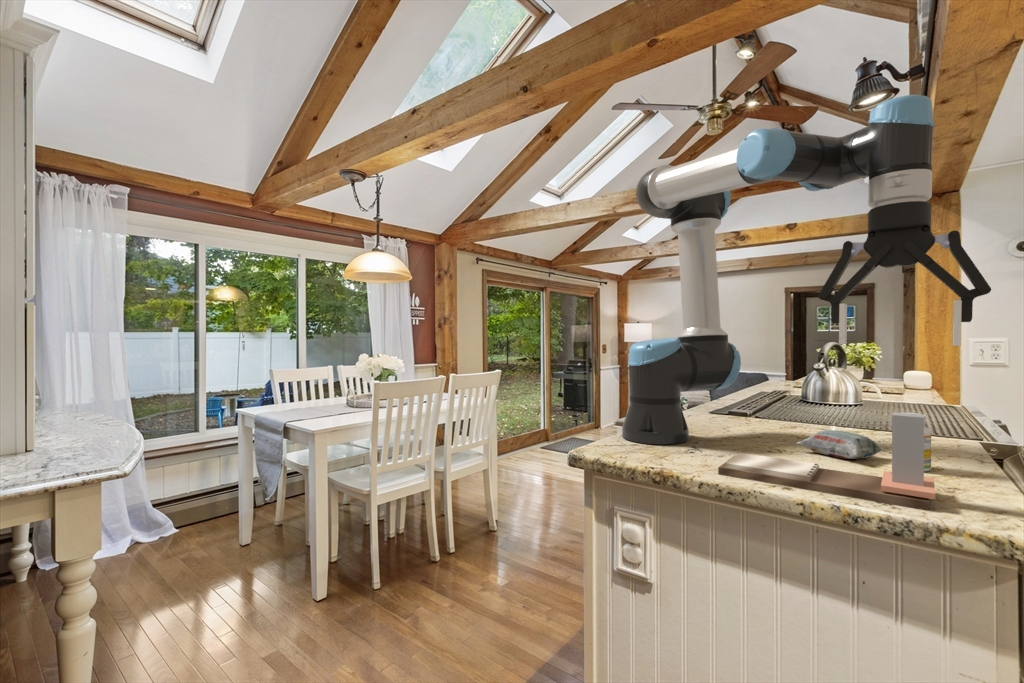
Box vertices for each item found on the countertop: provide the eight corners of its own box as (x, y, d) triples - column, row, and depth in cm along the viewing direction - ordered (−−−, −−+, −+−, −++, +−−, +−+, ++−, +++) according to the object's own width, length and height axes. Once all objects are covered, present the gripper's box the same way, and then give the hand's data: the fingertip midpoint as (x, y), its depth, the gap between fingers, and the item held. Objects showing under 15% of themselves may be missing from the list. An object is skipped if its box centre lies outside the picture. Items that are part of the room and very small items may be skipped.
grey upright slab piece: (880, 490, 70) (880, 417, 70) (883, 476, 77) (884, 409, 77) (935, 499, 66) (935, 421, 66) (933, 483, 73) (933, 412, 73)
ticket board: (718, 474, 84) (718, 462, 84) (734, 461, 92) (734, 450, 92) (929, 510, 66) (929, 495, 66) (927, 491, 74) (927, 477, 74)
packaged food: (856, 466, 88) (856, 439, 88) (795, 452, 99) (795, 428, 99) (884, 461, 92) (885, 435, 92) (823, 448, 103) (823, 425, 103)
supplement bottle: (890, 462, 90) (890, 410, 90) (927, 466, 87) (927, 413, 87) (894, 469, 86) (894, 415, 86) (934, 474, 83) (934, 418, 83)
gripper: (799, 213, 78) (798, 343, 79) (1021, 183, 62) (1017, 347, 63) (808, 221, 84) (806, 342, 85) (1013, 195, 68) (1009, 345, 68)
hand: (896, 344), depth 74 cm, fingers open, 13 cm apart
